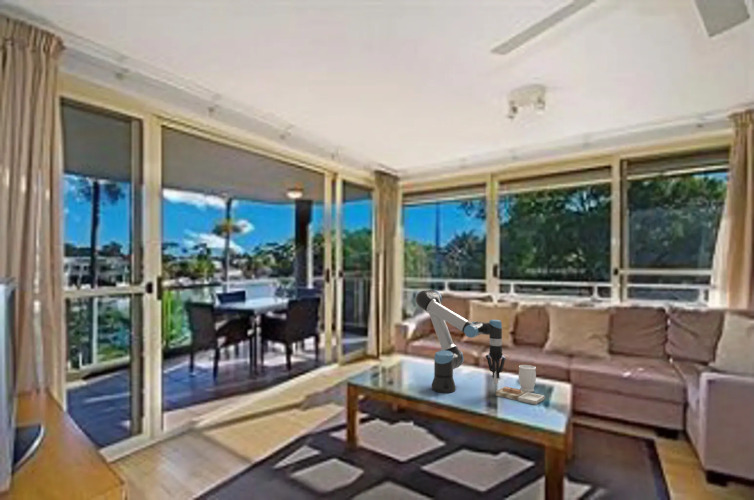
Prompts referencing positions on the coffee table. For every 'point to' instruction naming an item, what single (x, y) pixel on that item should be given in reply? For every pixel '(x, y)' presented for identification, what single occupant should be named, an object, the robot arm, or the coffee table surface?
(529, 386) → the jar
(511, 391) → the tile front
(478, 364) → the coffee table surface
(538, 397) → the tray
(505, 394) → the board
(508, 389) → the tile rear
